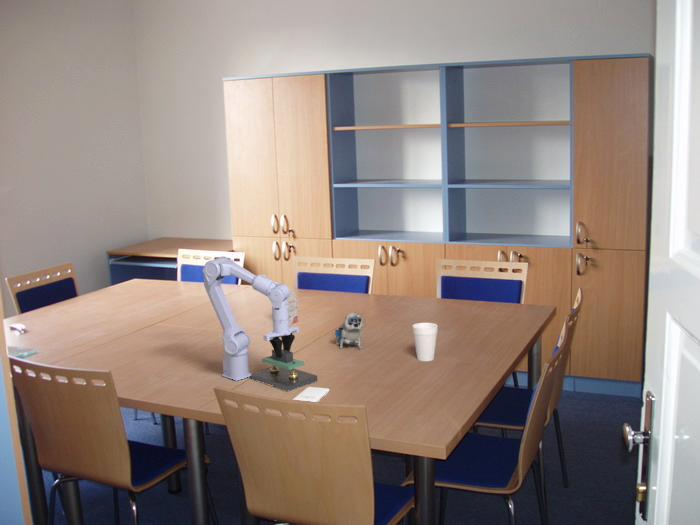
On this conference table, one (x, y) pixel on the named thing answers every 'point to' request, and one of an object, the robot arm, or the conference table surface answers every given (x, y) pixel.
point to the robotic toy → (350, 330)
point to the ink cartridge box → (292, 308)
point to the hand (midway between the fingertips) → (282, 356)
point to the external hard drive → (312, 394)
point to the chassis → (284, 377)
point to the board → (283, 365)
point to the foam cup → (425, 340)
